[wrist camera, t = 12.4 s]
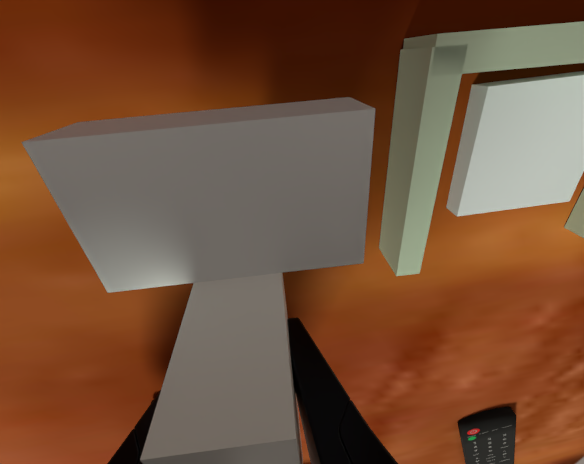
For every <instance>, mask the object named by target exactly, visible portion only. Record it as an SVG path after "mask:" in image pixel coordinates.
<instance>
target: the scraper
mask: <svg viewBox="0 0 584 464" xmlns="http://www.w3.org/2000/svg"><path fill="white" fill-rule="evenodd" d="M374 121H375V108H373V107H371V106H368V105H366V104H364V103H362V102H360V101H357V100H355V99H353V98H351V97H344V98H333V99H323V100H312V101H301V102H290V103H280V104H269V105H258V106H247V107H237V108H226V109H215V110H204V111H194V112H183V113H172V114H161V115H151V116H140V117H129V118H118V119H108V120H97V121H86V122H77V123H75V124H72V125H69V126H66V127H63V128H61V129H58V130H55V131H52V132H49V133H46V134H44V135H41V136H38V137H35V138H32V139H29V140H27V141H24V142H22V144H23V146H24V147H25V149H26V151H27V153H28V154H29V156H30V158H31V160H32V161H33V163H34V165H35V167H36V168H37V170H38V172H39V174H40V175H41V177H42V179H43V181H44V182H45V184H46V186H47V188H48V189H49V191H50V193H51V195H52V196H53V198H54V200H55V201H56V203H57V205H58V207H59V208H60V210H61V212H62V214H63V215H64V217H65V219H66V221H67V222H68V224H69V226H70V228H71V229H72V231H73V233H74V235H75V236H76V238H77V240H78V242H79V243H80V245H81V247H82V249H83V250H84V252H85V254H86V256H87V257H88V259H89V261H90V263H91V264H92V266H93V268H94V270H95V271H96V273H97V275H98V277H99V278H100V280H101V282H102V284H103V285H104V287H105V289H106V290H107V292H108V293H110V292H118V291H127V290H136V289H144V288H153V287H162V286H170V285H179V284H188V283H193V287H192V290H191V293H190V297H189V300H188V303H187V307H186V310H185V313H184V316H183V320H182V323H181V326H180V330H179V333H178V336H177V339H176V343H175V346H174V349H173V353H172V356H171V359H170V363H169V366H168V369H167V372H166V376H165V379H164V382H163V386H162V389H161V392H160V396H159V399H158V402H157V405H156V409H155V412H154V415H153V419H152V422H151V425H150V428H149V432H148V435H147V438H146V442H145V445H144V448H143V452H142V455H141V458H140V461H141V462H142V463H143V464H303V455H302V446H301V436H300V426H299V416H298V406H297V398H296V393H295V387H294V379H293V371H292V362H291V354H290V343H289V332H288V321H287V319H288V315H287V307H286V298H285V290H284V281H283V272H292V271H300V270H309V269H318V268H326V267H335V266H344V265H352V264H361V263H364V250H365V237H366V224H367V211H368V198H369V185H370V172H371V160H372V147H373V134H374Z"/></svg>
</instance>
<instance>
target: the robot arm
mask: <svg viewBox="0 0 584 464" xmlns="http://www.w3.org/2000/svg"><path fill="white" fill-rule="evenodd" d="M287 321H288V332H289V343H290V354H291V362H292V371H293V379H294V387H295V393H296V398H297V402H298V407H299V411H300V416H301V420H302V425H303V429H304V434H305V439H306V443H307V448H308V452H309V457H310V461H311V464H398V463H397V462H396V461H395V459H394V458H393V457H392V456H391V454H390V453H389V452H388V451H387V449H386V448H385V447H384V446H383V444H382V443H381V442H380V440H379V439H378V438H377V437H376V435H375V434H374V433H373V431H372V430H371V429H370V427H369V426H368V424H367V423H366V421H365V420H364V419H363V417H362V416H361V414H360V413H359V411H358V410H357V408H356V407H355V405H354V403H353V402H352V401H351V400H350V397H349V396H348V394H347V393H346V391H345V390H344V388H343V386H342V385H341V383H340V382H339V380H338V379H337V377H336V376H335V374H334V372H333V371H332V369H331V368H330V366H329V365H328V363H327V361H326V360H325V358H324V357H323V355H322V354H321V352H320V351H319V349H318V347H317V346H316V344H315V343H314V341H313V340H312V338H311V337H310V335H309V333H308V332H307V330H306V329H305V327H304V326H303V324H302V322H301V321H300V319H299V318H289V319H287ZM160 392H161V391H160ZM160 392H159V393H158V395H157V396H156V398H155V399H154V400H152V402H151V405H150V406H149V407H148V409H147V410H146V412H145V413H144V414H143V416H142V417H141V419H140V420H139V421H138V423H137V424H136V426H135V429H133V430H132V431H131V432H130V434H129V435H128V437H127V438H126V439H125V441H124V442H123V443H122V445H121V446H120V448H119V449H118V450H117V452H116V453H115V454H114V456H113V457H112V458H111V460H110V461H109V462H108V464H143V463H142V462H141V461H140V458H141V455H142V452H143V448H144V445H145V442H146V438H147V435H148V432H149V428H150V425H151V422H152V419H153V415H154V412H155V409H156V405H157V402H158V399H159V396H160Z"/></svg>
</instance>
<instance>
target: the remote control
mask: <svg viewBox="0 0 584 464" xmlns="http://www.w3.org/2000/svg"><path fill="white" fill-rule="evenodd" d="M458 427H459V432H460V437H461V442H462V447H463V452H464V457H465V463H466V464H514V448H515V428H516V414H515V413H514V412H513V410H512V409H511V408H510V407H502V408H496V409H491V410H487V411H483V412H480V413H477V414H474V415H471V416H468V417H466V418H464V419H461V420H459V422H458Z"/></svg>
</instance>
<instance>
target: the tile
mask: <svg viewBox="0 0 584 464" xmlns="http://www.w3.org/2000/svg"><path fill="white" fill-rule="evenodd" d="M583 171H584V71H579V72H570V73H562V74H554V75H546V76H538V77H530V78H521V79H513V80H505V81H497V82H489V83H481V84H473V85H472V87H471V92H470V97H469V101H468V106H467V111H466V116H465V120H464V125H463V130H462V135H461V140H460V144H459V149H458V154H457V159H456V163H455V168H454V173H453V178H452V182H451V187H450V192H449V197H448V202H447V206H446V208H447V209H449V210H450V211H451V212H452V213H453V214H455V215H456V216H464V215H471V214H478V213H486V212H493V211H501V210H508V209H516V208H523V207H530V206H538V205H545V204H553V203H560V202H568V201H570V199H571V197H572V195H573V193H574V191H575V188H576V186H577V184H578V182H579V180H580V178H581V176H582V174H583Z"/></svg>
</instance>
